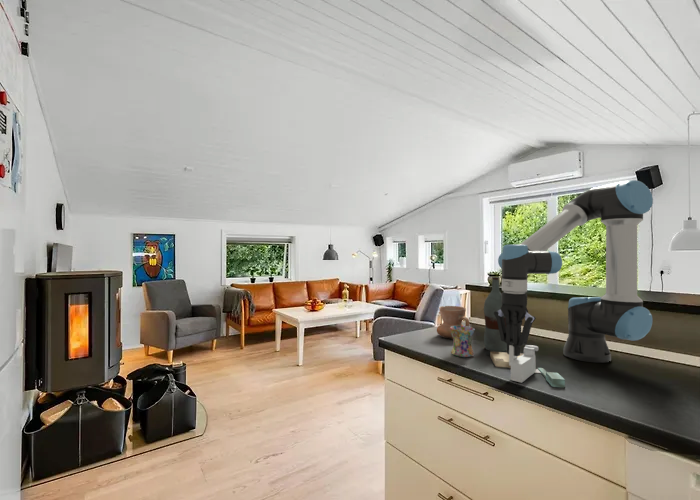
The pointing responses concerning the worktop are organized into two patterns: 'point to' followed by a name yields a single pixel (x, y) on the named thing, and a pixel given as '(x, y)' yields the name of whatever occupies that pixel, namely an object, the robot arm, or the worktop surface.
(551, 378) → the stool seat
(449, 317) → the ceramic jug
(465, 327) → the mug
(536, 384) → the worktop surface
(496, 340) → the bottle
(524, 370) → the hinged leg
